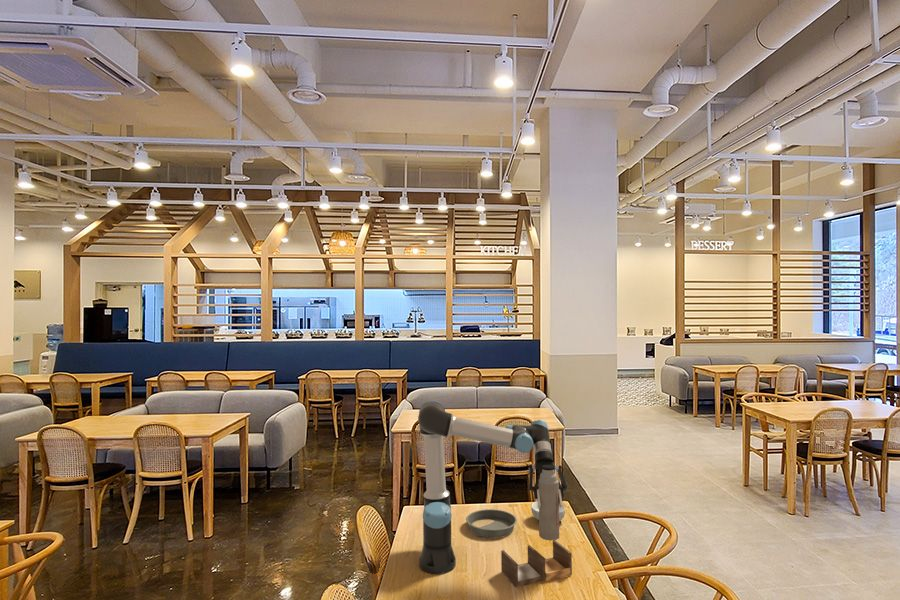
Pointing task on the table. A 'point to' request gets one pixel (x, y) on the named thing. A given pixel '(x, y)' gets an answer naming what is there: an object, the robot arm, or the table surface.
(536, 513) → the cereal bowl
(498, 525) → the cake pan
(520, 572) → the rack
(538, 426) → the robot arm
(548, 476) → the thermos bottle
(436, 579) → the table surface
